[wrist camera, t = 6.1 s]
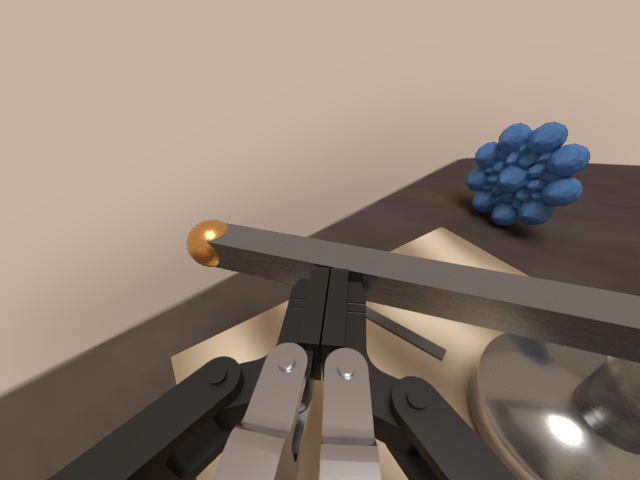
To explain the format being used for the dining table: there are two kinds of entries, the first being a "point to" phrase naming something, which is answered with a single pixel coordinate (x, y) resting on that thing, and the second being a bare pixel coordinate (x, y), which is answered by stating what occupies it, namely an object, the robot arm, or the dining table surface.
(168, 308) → the dining table surface
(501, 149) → the grapes
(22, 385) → the dining table surface
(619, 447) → the metal faucet
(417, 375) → the stand
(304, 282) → the robot arm
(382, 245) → the dining table surface
